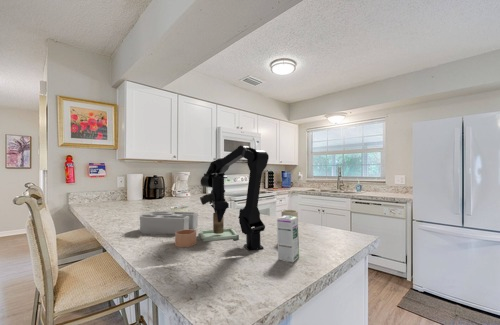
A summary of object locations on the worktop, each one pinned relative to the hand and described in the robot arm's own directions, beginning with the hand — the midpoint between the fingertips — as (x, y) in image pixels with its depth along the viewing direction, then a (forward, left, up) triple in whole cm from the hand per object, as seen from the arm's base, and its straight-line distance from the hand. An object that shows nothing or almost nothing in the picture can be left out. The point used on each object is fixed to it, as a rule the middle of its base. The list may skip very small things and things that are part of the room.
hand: (218, 221), depth 107 cm
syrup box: (-34, -19, -8) cm, 40 cm away
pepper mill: (0, 0, -5) cm, 5 cm away
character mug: (-16, -29, -8) cm, 34 cm away
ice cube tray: (+21, +24, -8) cm, 33 cm away
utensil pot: (-7, +15, -8) cm, 18 cm away
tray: (0, 0, -8) cm, 8 cm away
